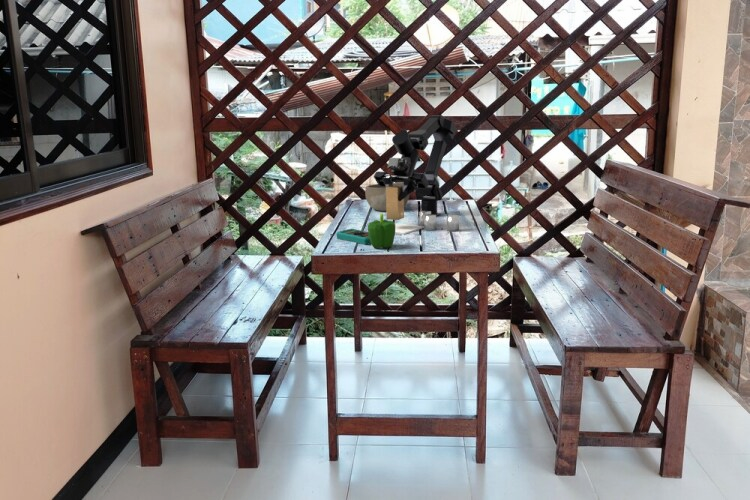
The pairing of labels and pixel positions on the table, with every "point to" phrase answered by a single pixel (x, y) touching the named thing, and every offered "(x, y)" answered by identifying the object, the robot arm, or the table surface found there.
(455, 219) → the cylinder
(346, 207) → the table surface
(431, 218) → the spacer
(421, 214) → the cylinder
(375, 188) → the bowl
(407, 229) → the white mat
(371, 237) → the bell pepper
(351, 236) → the digital multimeter
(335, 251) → the table surface
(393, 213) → the tan tall block
